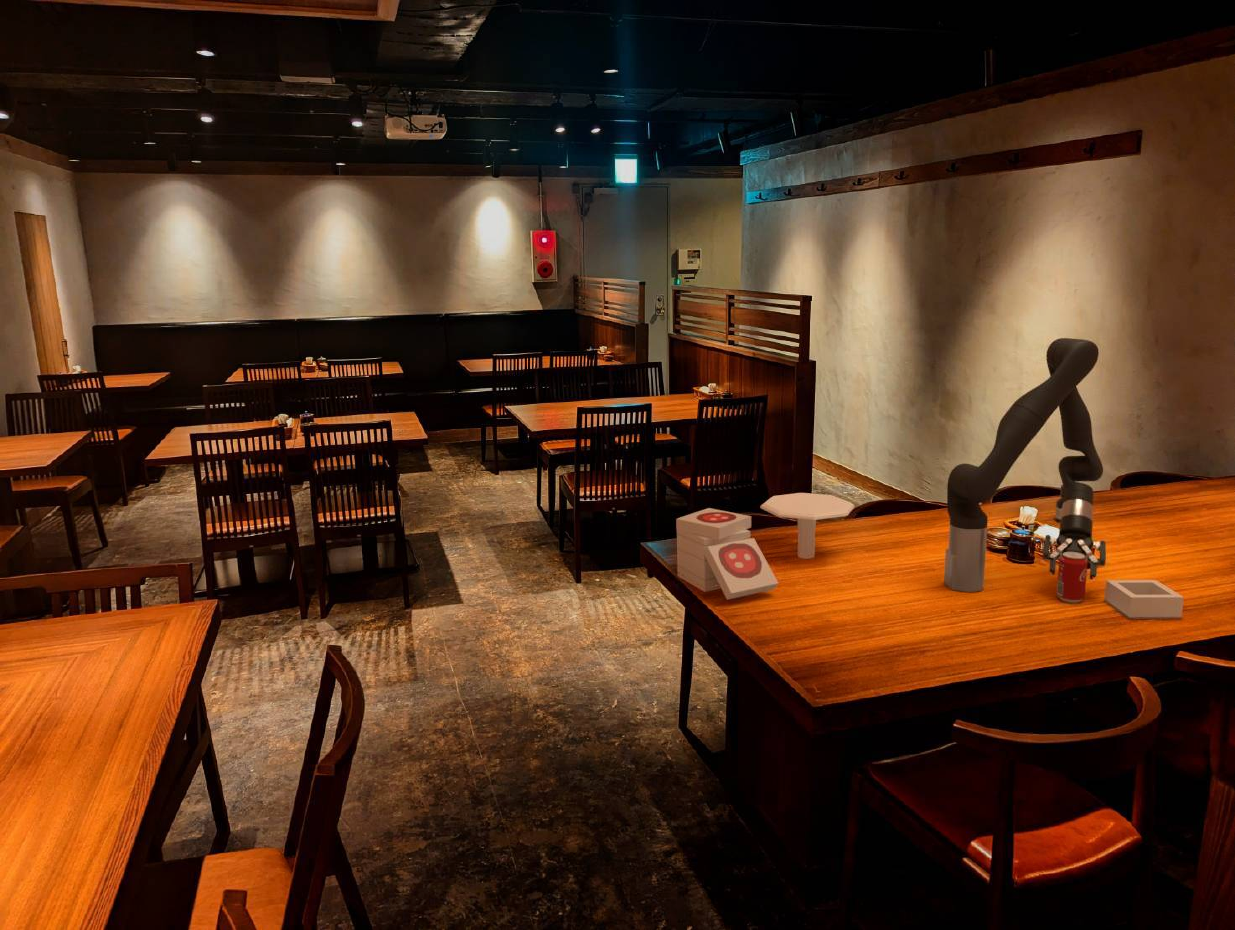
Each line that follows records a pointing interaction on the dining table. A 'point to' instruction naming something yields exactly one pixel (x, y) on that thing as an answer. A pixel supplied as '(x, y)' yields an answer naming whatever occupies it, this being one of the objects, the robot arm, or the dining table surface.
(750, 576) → the pizza boxes
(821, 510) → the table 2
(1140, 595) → the well holder
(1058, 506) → the ink bottle
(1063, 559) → the beverage can
